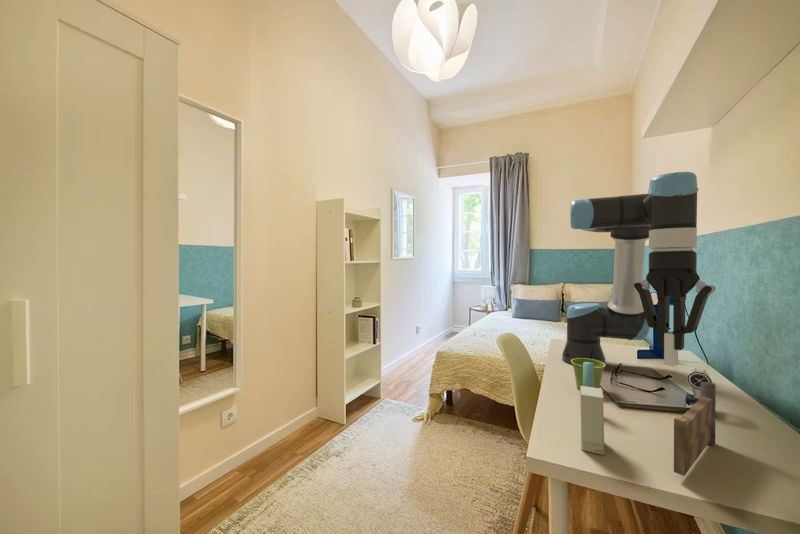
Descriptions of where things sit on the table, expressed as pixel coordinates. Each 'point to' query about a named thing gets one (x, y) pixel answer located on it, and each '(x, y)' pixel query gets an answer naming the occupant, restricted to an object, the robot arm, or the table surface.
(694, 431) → the gate
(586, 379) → the post
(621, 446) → the table surface
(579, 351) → the robot arm
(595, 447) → the skincare box
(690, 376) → the watch
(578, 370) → the plant pot
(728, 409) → the table surface
